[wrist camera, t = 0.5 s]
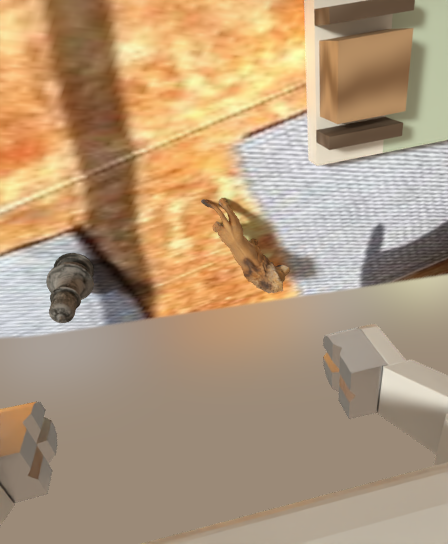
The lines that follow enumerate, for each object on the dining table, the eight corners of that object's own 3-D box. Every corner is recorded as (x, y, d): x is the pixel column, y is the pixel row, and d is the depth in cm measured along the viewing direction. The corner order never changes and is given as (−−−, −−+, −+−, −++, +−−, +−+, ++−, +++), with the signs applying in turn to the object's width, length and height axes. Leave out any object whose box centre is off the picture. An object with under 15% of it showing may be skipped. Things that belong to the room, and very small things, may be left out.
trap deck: (303, -23, 43) (313, -26, 41) (553, -62, 46) (578, -68, 43) (308, 159, 54) (316, 166, 51) (511, 119, 56) (529, 123, 54)
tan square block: (319, 40, 44) (338, 40, 40) (387, 28, 44) (413, 28, 40) (319, 116, 48) (337, 124, 44) (382, 104, 49) (405, 111, 44)
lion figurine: (280, 251, 60) (300, 282, 53) (254, 274, 61) (270, 307, 54) (214, 185, 53) (226, 210, 46) (186, 213, 54) (193, 241, 47)
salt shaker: (73, 243, 54) (58, 291, 43) (105, 271, 57) (97, 322, 46) (42, 268, 55) (19, 320, 44) (74, 294, 58) (60, 349, 47)
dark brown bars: (314, 9, 42) (329, 6, 39) (393, -5, 43) (415, -8, 39) (316, 142, 50) (329, 150, 46) (384, 129, 50) (402, 135, 47)
